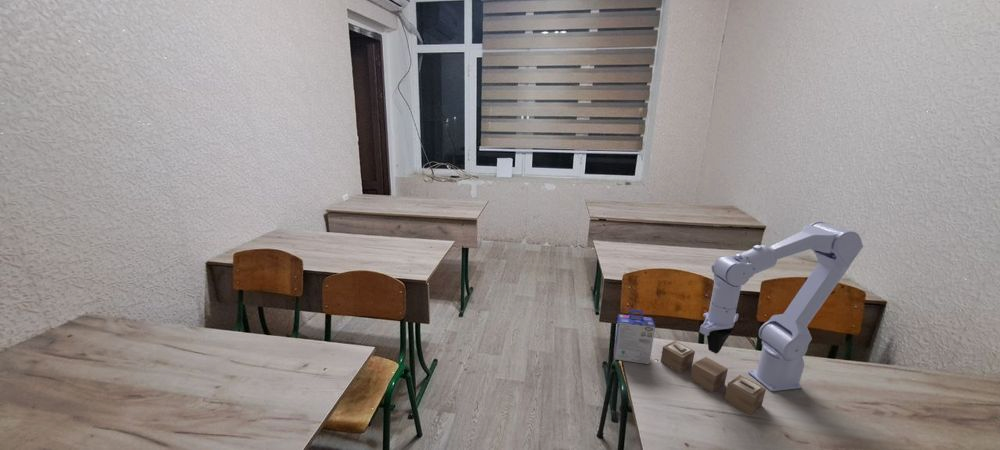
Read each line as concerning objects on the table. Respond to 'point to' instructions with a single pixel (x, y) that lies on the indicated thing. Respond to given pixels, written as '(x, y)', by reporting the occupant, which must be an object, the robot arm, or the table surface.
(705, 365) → the plain block
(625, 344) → the ink cartridge box
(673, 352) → the numbered block seven
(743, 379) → the numbered block one
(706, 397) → the table surface
